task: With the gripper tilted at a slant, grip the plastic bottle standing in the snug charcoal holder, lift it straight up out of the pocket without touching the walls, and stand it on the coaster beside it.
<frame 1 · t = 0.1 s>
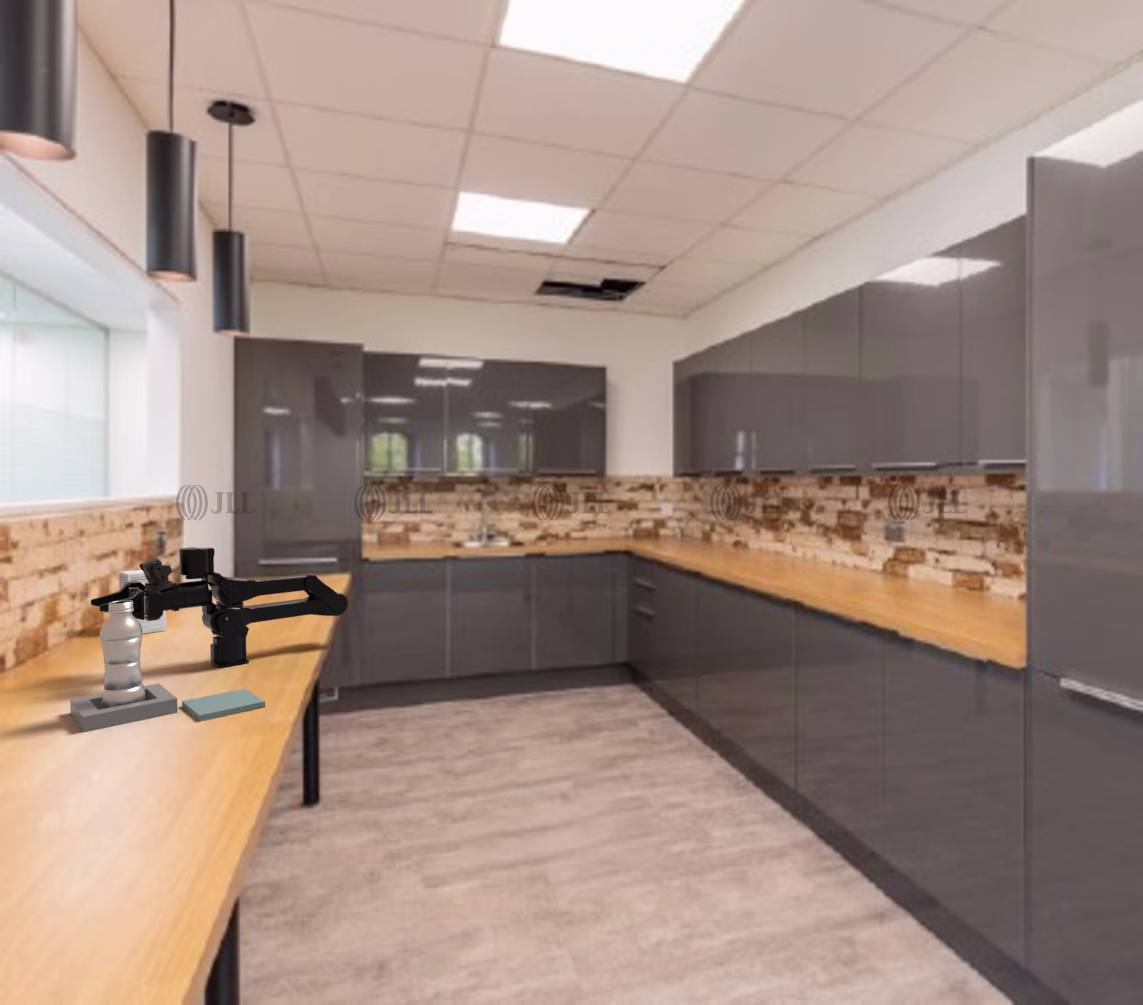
hand: (95, 605, 140), 17 cm above the countertop, tool horizontal, fingers open, 9 cm apart
plastic bottle: (124, 713, 125), resting in pocket holder
pocket holder: (124, 712, 125), on the countertop
supplement box: (143, 631, 194), on the countertop
coaster: (223, 706, 128), on the countertop
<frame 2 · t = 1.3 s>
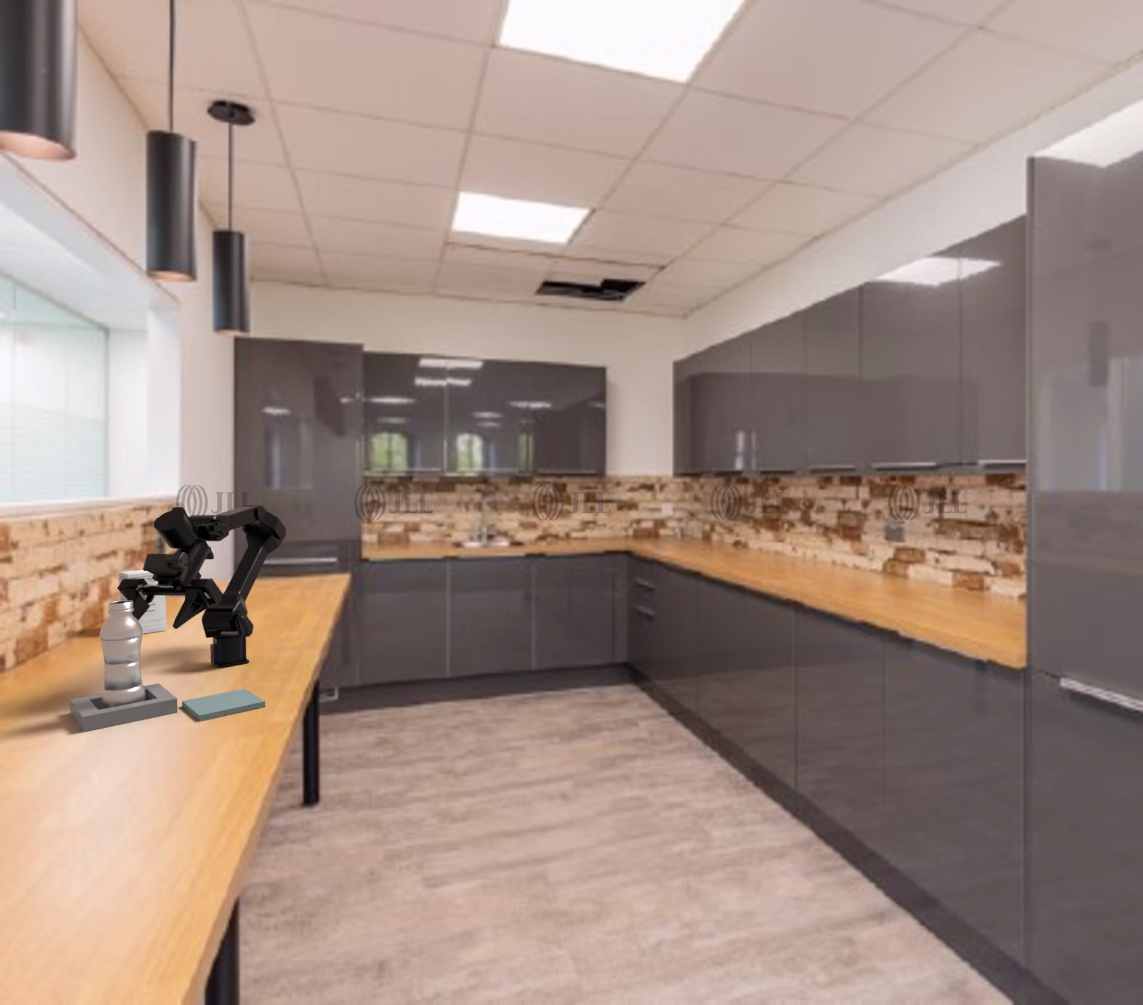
hand: (151, 627, 132), 14 cm above the countertop, tool tilted 45°, fingers open, 9 cm apart
nothing on the countertop moved.
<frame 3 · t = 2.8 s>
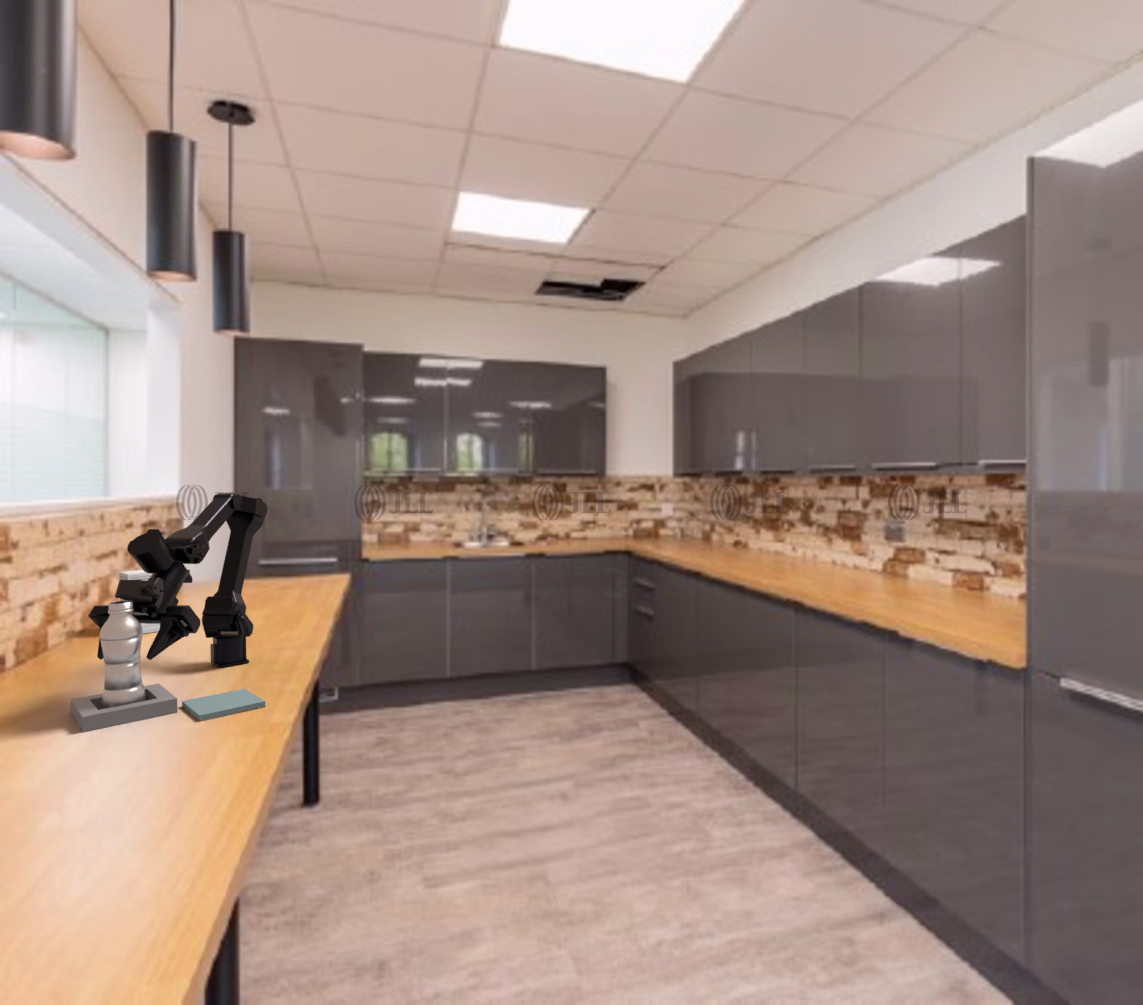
hand: (123, 658, 125), 10 cm above the countertop, tool tilted 45°, fingers open, 9 cm apart
nothing on the countertop moved.
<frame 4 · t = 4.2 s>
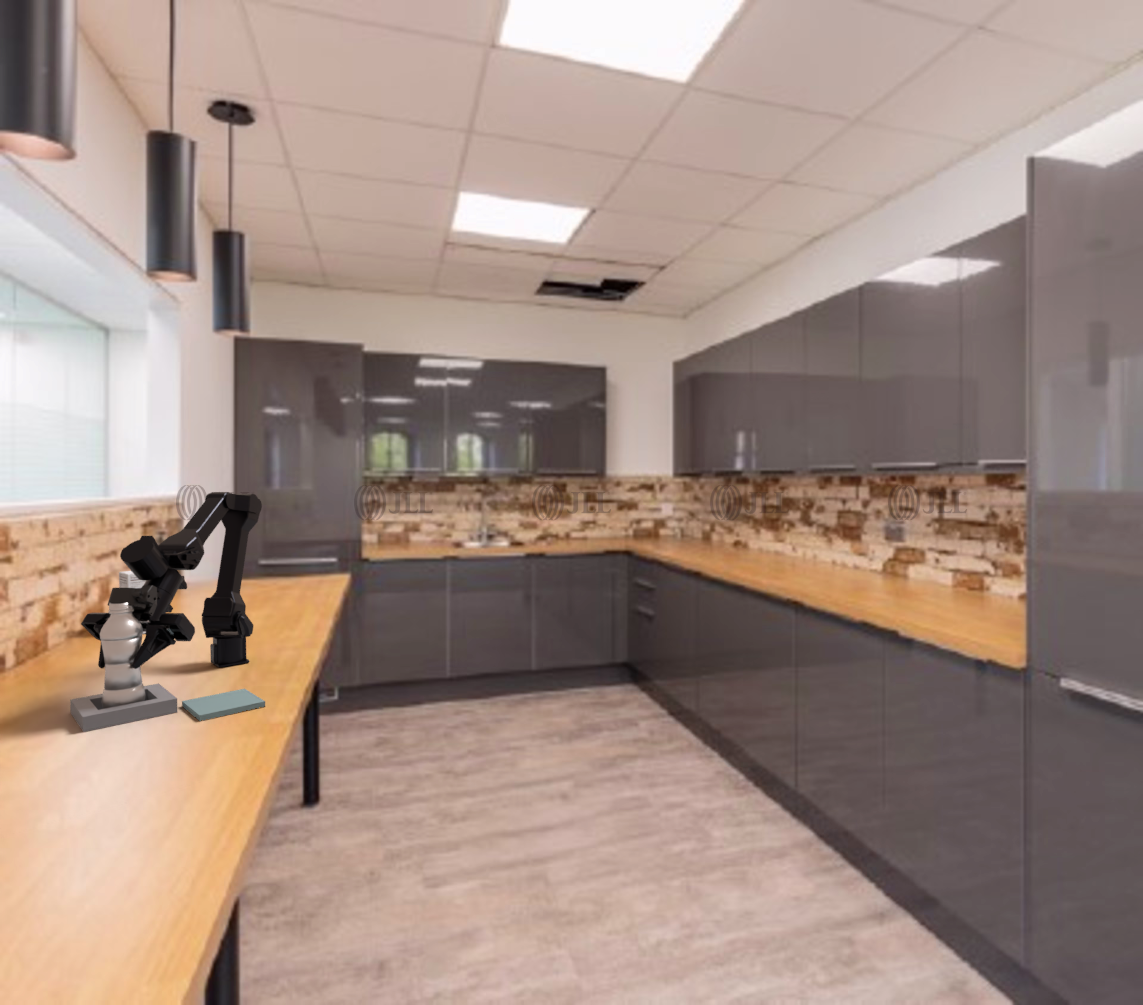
hand: (117, 667, 123), 9 cm above the countertop, tool tilted 45°, fingers closed on plastic bottle, 6 cm apart
plastic bottle: (124, 713, 125), resting in pocket holder, touching gripper
everything else where it was.
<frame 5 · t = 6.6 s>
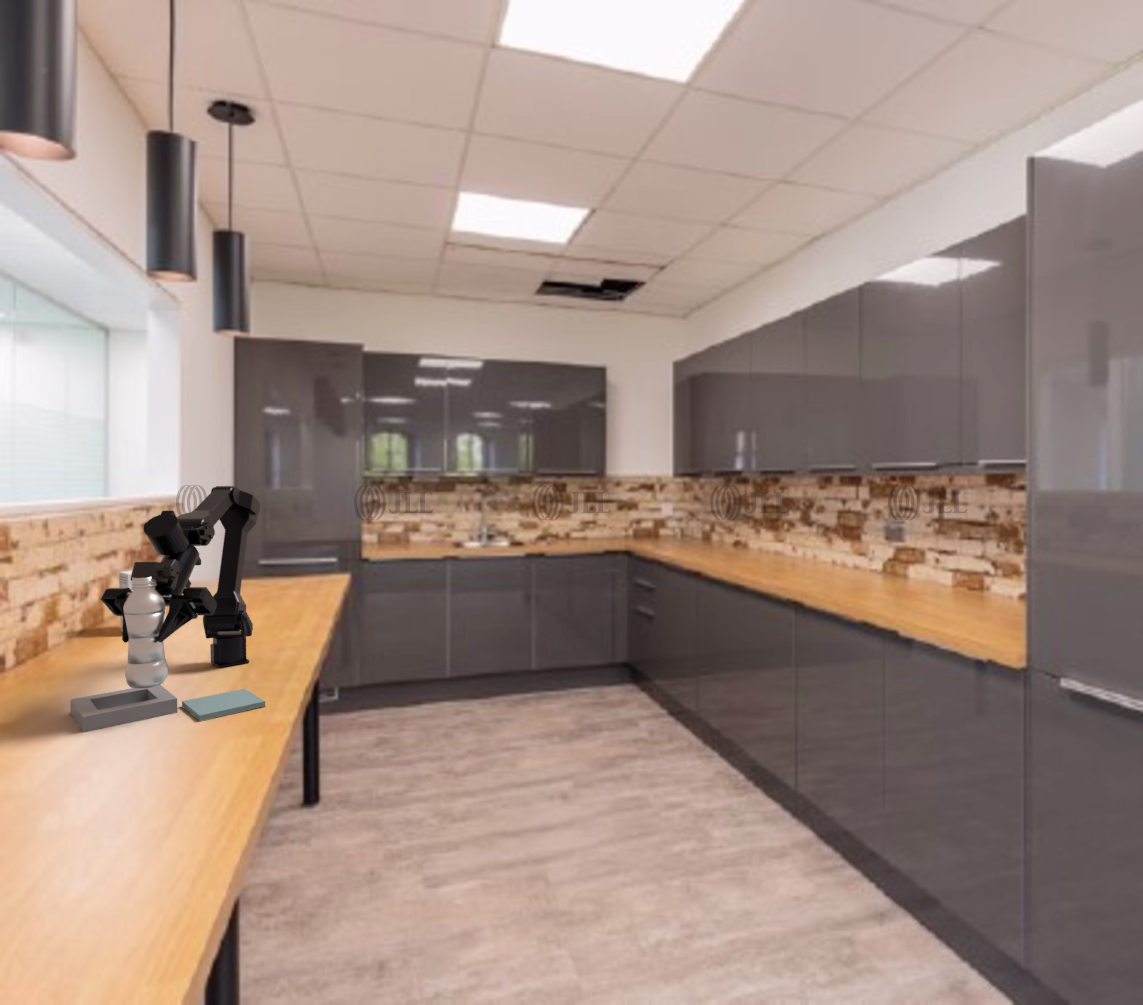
hand: (141, 641, 123), 13 cm above the countertop, tool tilted 45°, fingers closed on plastic bottle, 6 cm apart
plastic bottle: (147, 688, 125), point 4 cm above the countertop, touching gripper
everything else where it was.
when the fingers open (11 cm above the countertop, at t = 9.0 s): plastic bottle drops 1 cm, resting on coaster.
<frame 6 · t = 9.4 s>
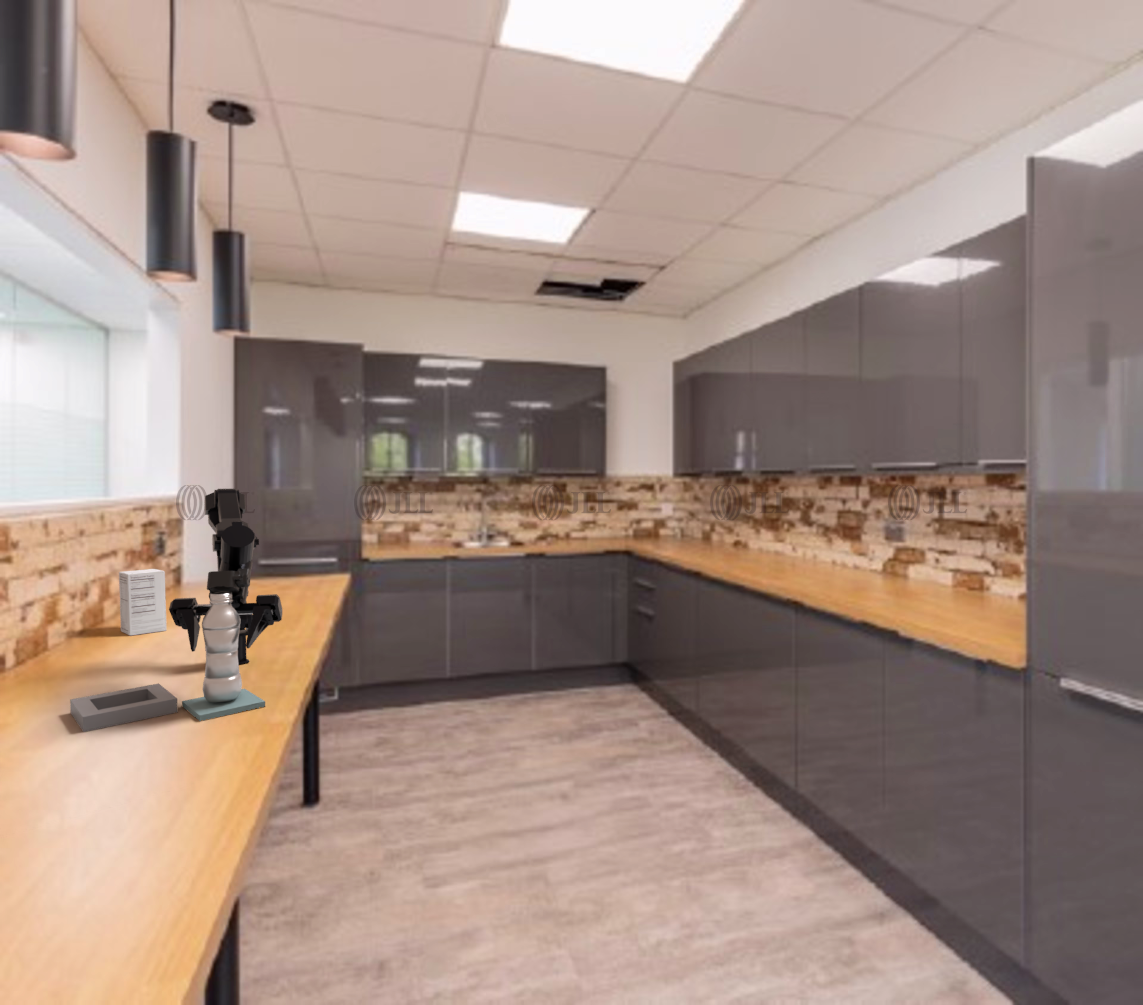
hand: (220, 648, 126), 11 cm above the countertop, tool tilted 45°, fingers open, 9 cm apart
plastic bottle: (222, 701, 128), point 1 cm above the countertop, touching coaster
everything else where it was.
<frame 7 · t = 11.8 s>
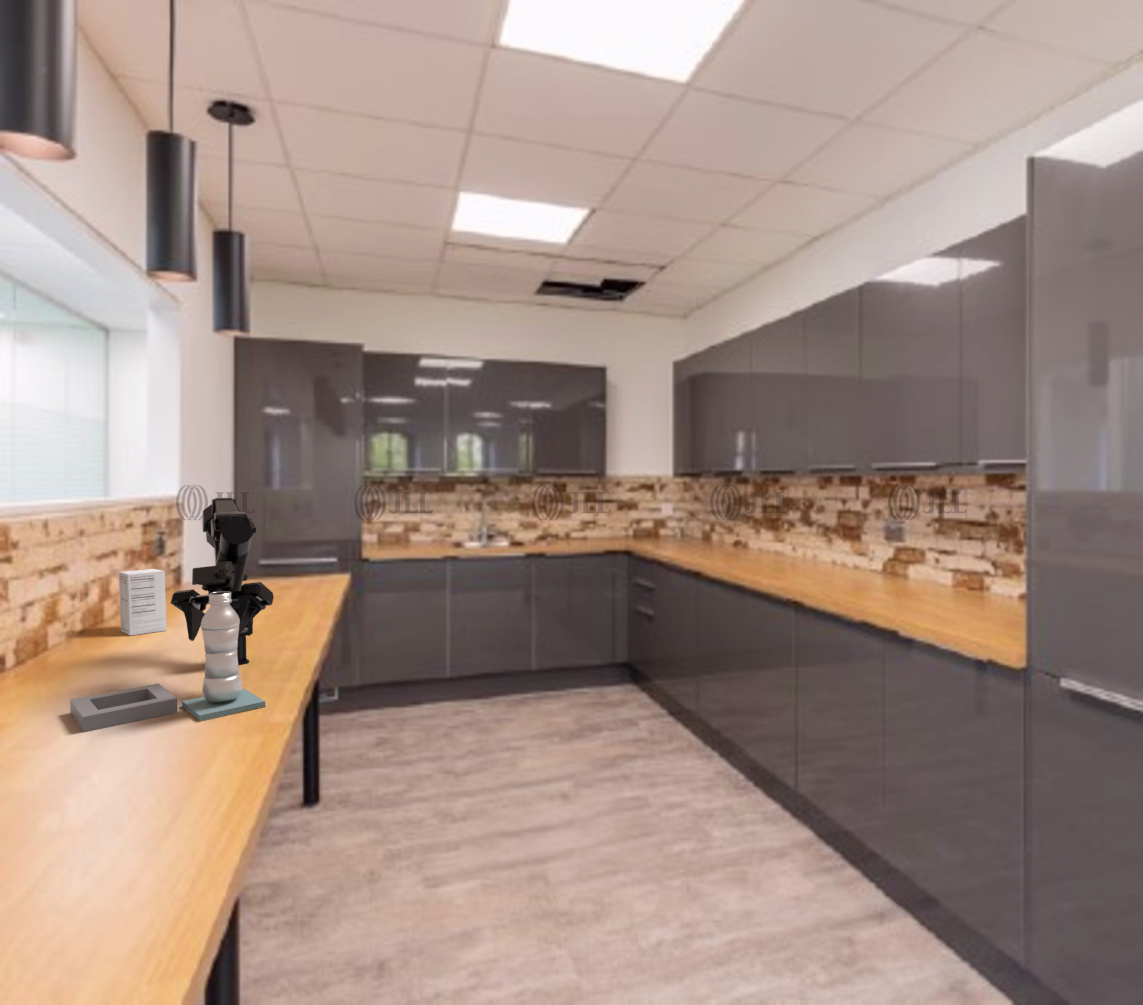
hand: (213, 637, 135), 11 cm above the countertop, tool tilted 35°, fingers open, 9 cm apart
nothing on the countertop moved.
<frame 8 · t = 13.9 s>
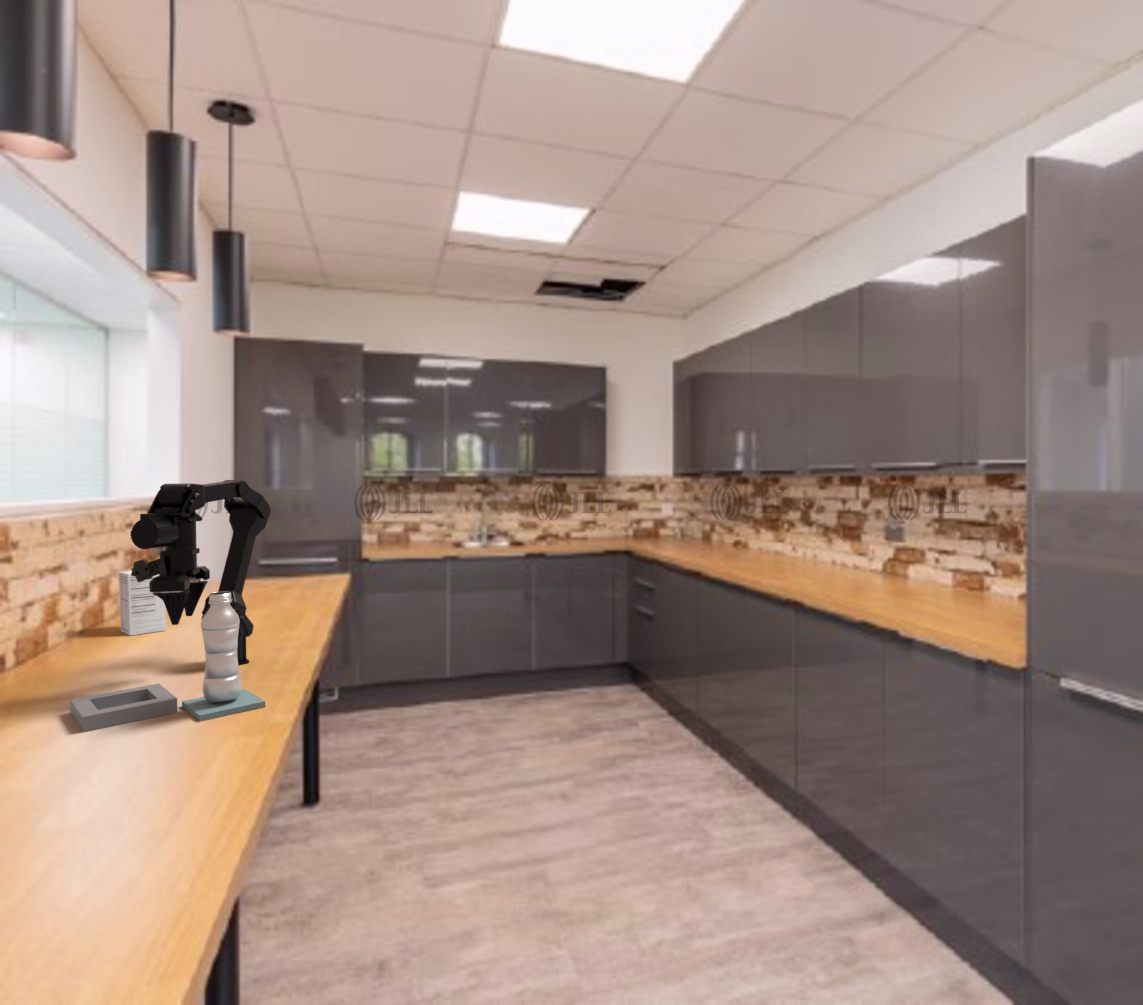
hand: (182, 620, 142), 13 cm above the countertop, tool pointing down, fingers open, 9 cm apart
nothing on the countertop moved.
at the end: plastic bottle inside the target area on the coaster (0.2 cm from its centre), point 0.8 cm above the coaster's base; plastic bottle tilted 0°; the gripper is holding nothing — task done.
